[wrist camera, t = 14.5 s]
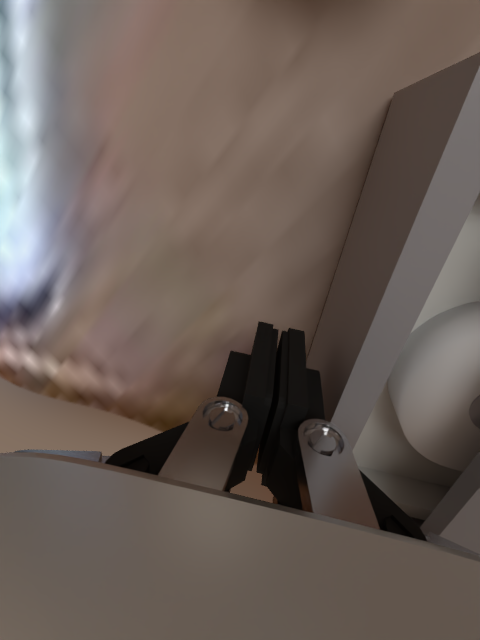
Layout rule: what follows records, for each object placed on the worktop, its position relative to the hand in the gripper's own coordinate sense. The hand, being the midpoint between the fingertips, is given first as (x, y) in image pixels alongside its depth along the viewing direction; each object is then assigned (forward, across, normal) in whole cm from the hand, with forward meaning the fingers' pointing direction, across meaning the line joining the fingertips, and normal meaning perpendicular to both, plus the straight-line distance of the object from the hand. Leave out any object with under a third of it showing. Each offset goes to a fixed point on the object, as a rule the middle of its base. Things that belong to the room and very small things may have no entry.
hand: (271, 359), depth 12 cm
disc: (+2, -9, 0) cm, 9 cm away
